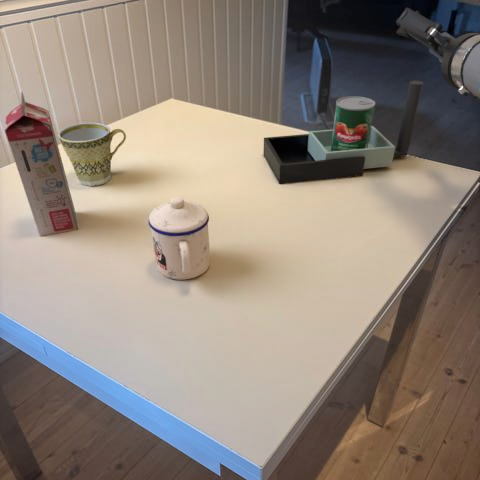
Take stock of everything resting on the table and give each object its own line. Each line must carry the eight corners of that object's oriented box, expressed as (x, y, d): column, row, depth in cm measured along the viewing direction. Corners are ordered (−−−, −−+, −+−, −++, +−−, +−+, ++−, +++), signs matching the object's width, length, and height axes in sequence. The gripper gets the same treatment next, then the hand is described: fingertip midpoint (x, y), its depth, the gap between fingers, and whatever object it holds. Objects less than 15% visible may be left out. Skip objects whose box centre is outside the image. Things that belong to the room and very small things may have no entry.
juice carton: (75, 212, 92) (42, 89, 78) (78, 229, 88) (44, 102, 73) (38, 217, 91) (-2, 93, 76) (39, 236, 86) (-3, 107, 71)
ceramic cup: (75, 194, 98) (62, 145, 91) (66, 174, 105) (54, 127, 98) (138, 181, 102) (130, 133, 95) (126, 163, 108) (118, 117, 102)
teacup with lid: (153, 252, 82) (143, 188, 74) (207, 246, 83) (202, 182, 75) (159, 296, 73) (149, 229, 65) (219, 288, 74) (215, 221, 67)
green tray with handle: (395, 142, 113) (409, 73, 104) (419, 163, 104) (436, 91, 95) (307, 149, 111) (313, 80, 101) (323, 172, 102) (331, 99, 92)
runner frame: (338, 148, 113) (341, 131, 111) (362, 176, 102) (365, 157, 100) (263, 155, 111) (263, 137, 108) (279, 184, 100) (280, 165, 97)
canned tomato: (336, 163, 103) (342, 110, 96) (325, 148, 109) (331, 97, 102) (372, 160, 104) (381, 107, 97) (359, 146, 110) (367, 95, 103)
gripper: (396, 30, 69) (365, 24, 87) (508, 137, 77) (458, 112, 95) (436, -23, 66) (395, -17, 83) (549, 95, 73) (490, 77, 91)
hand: (429, 51), depth 89 cm, fingers open, 13 cm apart
